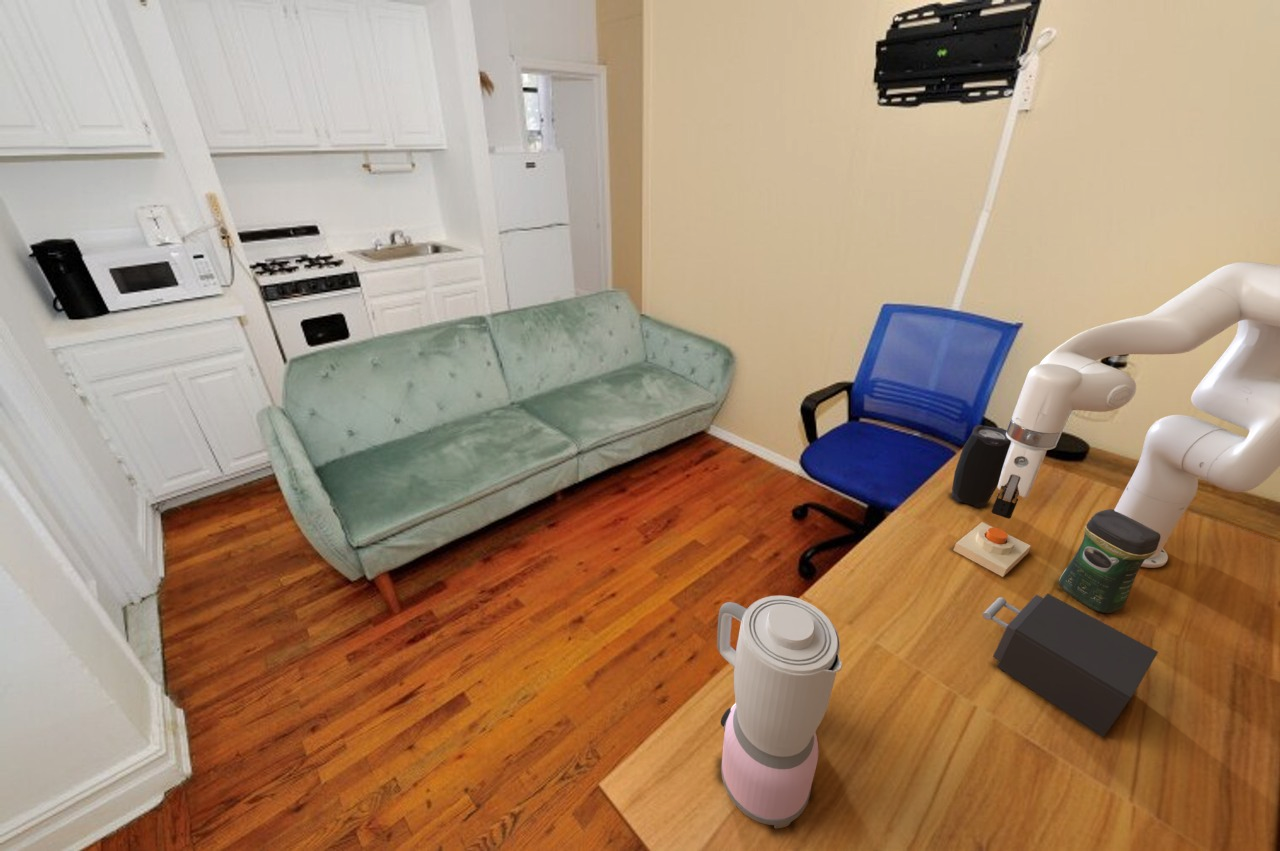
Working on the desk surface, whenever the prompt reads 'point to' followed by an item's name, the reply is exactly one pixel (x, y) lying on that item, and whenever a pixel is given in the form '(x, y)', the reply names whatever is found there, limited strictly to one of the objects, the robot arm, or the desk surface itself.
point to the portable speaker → (980, 466)
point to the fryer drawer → (1010, 627)
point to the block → (991, 550)
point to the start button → (996, 535)
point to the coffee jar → (1108, 561)
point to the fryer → (1076, 662)
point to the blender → (775, 703)
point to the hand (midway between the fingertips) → (1001, 513)
